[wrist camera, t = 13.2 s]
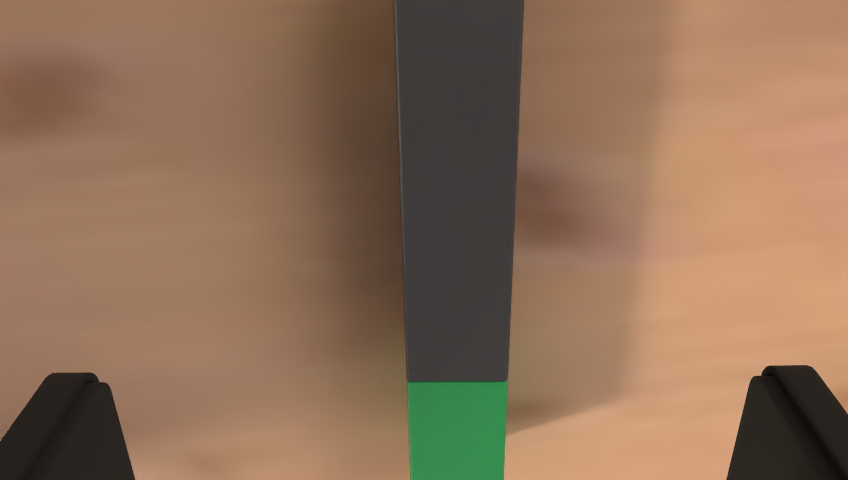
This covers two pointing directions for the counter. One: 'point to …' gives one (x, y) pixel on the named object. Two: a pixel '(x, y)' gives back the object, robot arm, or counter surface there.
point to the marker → (457, 226)
